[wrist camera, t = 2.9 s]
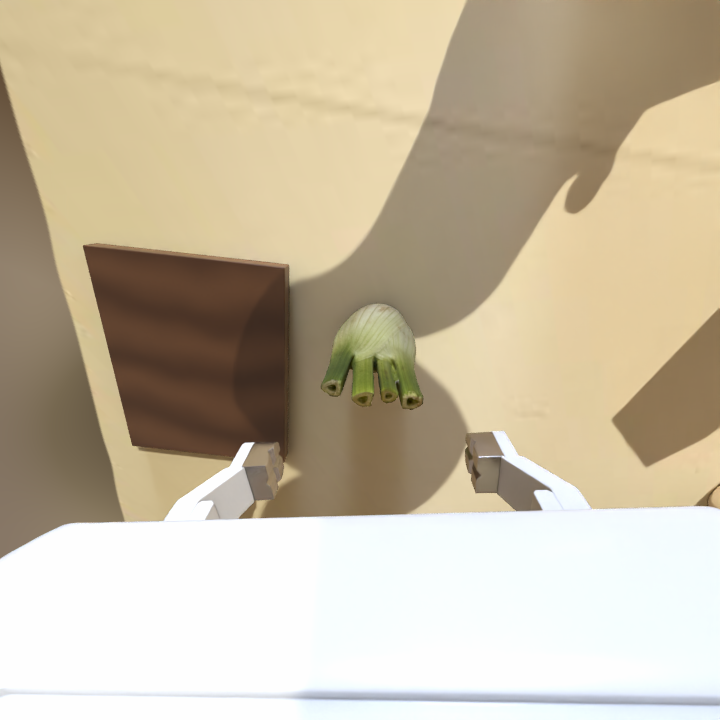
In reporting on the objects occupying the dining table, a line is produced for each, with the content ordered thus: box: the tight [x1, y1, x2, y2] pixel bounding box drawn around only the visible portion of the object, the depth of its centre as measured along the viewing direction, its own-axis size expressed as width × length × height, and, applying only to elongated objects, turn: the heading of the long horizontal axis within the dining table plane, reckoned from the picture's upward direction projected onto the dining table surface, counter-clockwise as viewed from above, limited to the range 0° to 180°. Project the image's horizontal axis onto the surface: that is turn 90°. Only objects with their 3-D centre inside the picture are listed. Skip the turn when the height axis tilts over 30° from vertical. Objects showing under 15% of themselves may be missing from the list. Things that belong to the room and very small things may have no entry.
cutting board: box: [83, 243, 289, 463], centre depth 31 cm, size 20×16×2 cm
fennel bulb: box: [321, 304, 423, 410], centre depth 24 cm, size 6×5×12 cm
